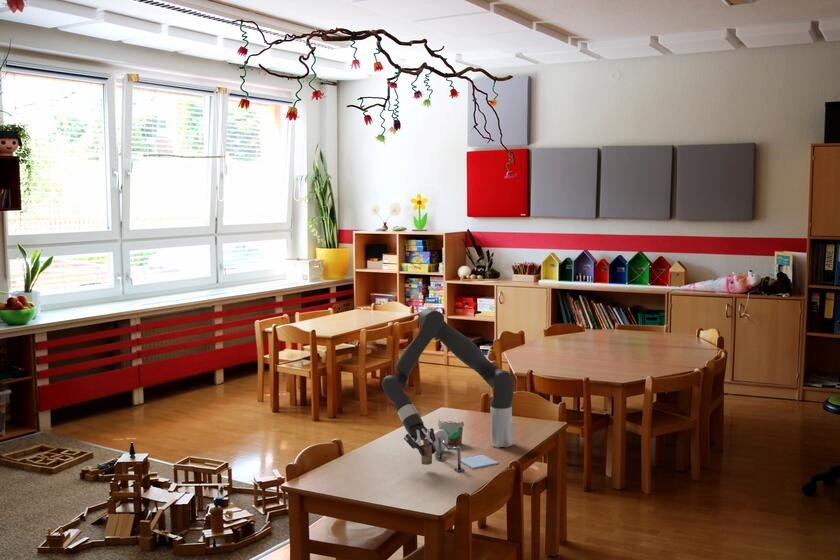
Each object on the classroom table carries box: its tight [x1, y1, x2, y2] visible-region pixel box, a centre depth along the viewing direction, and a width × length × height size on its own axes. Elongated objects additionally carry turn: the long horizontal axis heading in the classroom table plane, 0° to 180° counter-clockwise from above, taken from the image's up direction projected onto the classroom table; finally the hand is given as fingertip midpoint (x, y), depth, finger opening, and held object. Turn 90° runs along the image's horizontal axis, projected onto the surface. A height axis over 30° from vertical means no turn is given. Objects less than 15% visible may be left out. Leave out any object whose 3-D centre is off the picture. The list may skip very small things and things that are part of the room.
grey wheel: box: [433, 428, 448, 454], centre depth 337 cm, size 10×4×10 cm, turn 139°
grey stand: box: [435, 437, 465, 473], centre depth 320 cm, size 3×19×10 cm, turn 27°
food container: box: [436, 419, 465, 446], centre depth 348 cm, size 12×6×10 cm, turn 68°
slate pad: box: [461, 454, 499, 470], centre depth 323 cm, size 12×12×1 cm
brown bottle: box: [420, 438, 433, 466], centre depth 313 cm, size 4×4×10 cm
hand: (429, 454), depth 311 cm, fingers closed on brown bottle, 4 cm apart
